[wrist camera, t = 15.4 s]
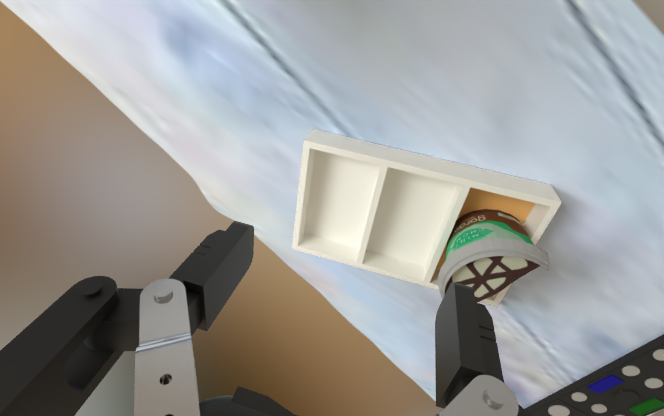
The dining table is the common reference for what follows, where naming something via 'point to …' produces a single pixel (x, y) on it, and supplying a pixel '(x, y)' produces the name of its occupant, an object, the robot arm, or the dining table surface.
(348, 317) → the dining table surface
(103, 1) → the dining table surface
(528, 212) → the cream compartment tray
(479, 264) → the food container
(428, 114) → the dining table surface
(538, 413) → the remote control
